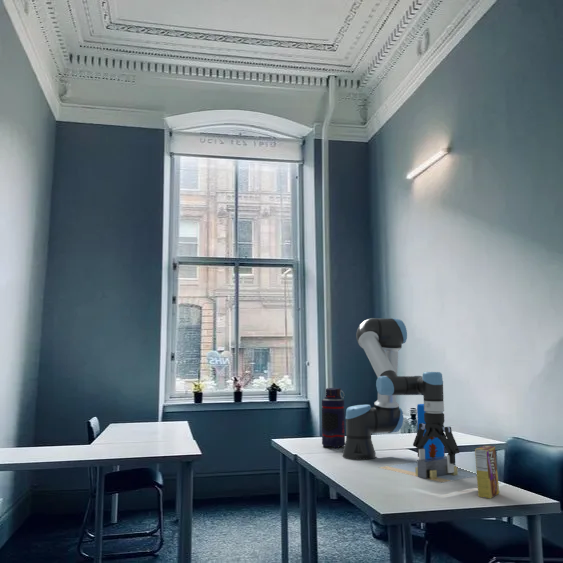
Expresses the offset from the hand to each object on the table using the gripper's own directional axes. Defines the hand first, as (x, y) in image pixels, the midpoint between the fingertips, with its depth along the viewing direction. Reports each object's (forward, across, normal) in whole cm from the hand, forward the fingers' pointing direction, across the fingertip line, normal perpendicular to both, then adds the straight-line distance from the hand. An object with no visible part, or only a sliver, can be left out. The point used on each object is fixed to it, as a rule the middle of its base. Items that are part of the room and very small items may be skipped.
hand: (436, 469), depth 198 cm
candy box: (+3, +27, -7) cm, 28 cm away
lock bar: (+2, 0, 0) cm, 2 cm away
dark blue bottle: (+4, -80, +16) cm, 81 cm away
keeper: (+2, 0, 0) cm, 2 cm away
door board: (+3, -7, +3) cm, 8 cm away
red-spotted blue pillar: (+3, -20, +21) cm, 29 cm away
